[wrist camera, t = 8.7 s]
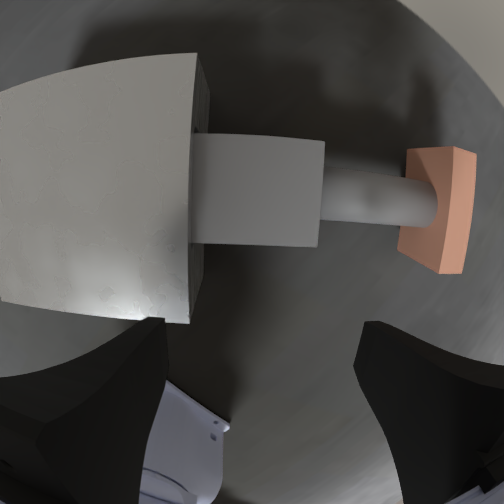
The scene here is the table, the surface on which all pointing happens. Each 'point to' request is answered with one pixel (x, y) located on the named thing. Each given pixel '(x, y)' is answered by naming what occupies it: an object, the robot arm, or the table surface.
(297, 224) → the rod with pink block
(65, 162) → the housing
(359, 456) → the table surface
